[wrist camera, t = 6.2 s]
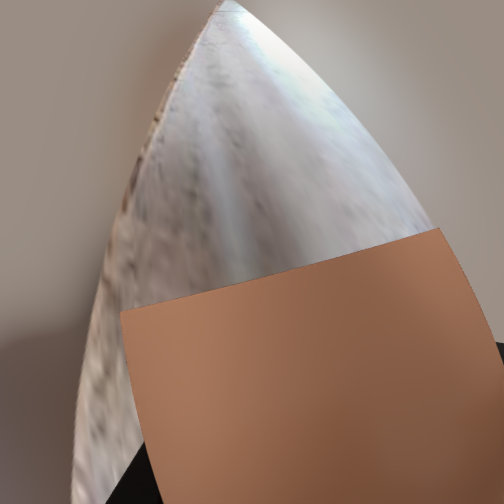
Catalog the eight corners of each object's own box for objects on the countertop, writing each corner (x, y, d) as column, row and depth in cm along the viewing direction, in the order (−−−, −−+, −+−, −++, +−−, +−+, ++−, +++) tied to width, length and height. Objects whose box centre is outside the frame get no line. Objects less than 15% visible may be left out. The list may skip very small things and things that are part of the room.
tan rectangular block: (370, 461, 11) (530, 484, 3) (239, 507, 10) (229, 635, 2) (330, 345, 14) (439, 227, 6) (200, 382, 13) (119, 312, 5)
